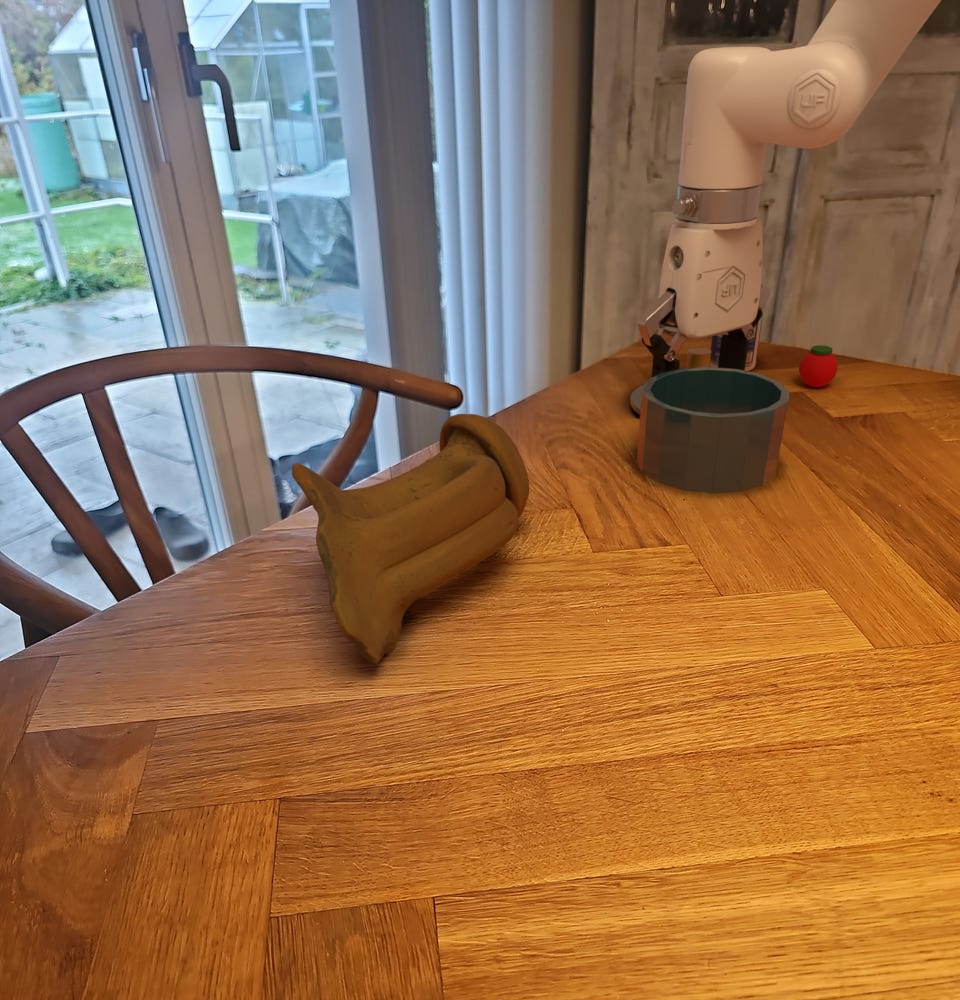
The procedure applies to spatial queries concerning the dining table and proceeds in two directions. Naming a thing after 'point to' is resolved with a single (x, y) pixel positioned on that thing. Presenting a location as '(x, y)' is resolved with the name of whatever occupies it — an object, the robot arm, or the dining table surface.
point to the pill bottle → (751, 349)
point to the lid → (694, 360)
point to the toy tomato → (818, 366)
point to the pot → (711, 429)
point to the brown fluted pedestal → (415, 528)
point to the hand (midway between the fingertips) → (697, 385)
